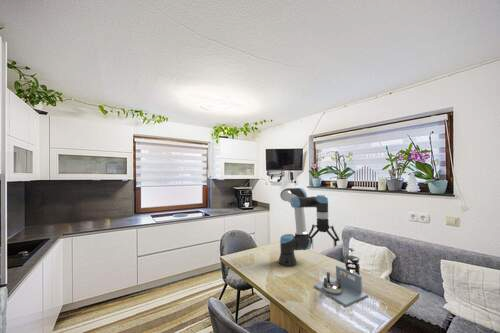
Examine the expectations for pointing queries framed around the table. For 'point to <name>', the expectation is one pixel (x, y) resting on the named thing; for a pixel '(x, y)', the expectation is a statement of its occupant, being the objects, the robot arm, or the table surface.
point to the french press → (353, 263)
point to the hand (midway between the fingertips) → (323, 249)
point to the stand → (346, 287)
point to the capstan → (332, 286)
